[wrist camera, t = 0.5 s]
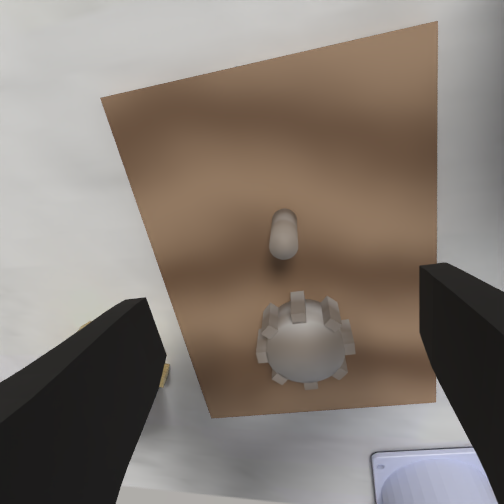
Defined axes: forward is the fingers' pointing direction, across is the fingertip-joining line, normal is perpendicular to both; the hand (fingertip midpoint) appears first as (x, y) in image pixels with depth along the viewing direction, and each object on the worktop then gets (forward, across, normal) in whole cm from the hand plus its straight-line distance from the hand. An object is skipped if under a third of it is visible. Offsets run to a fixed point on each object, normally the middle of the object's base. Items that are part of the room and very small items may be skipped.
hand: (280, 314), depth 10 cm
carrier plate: (+10, 0, +4) cm, 11 cm away
